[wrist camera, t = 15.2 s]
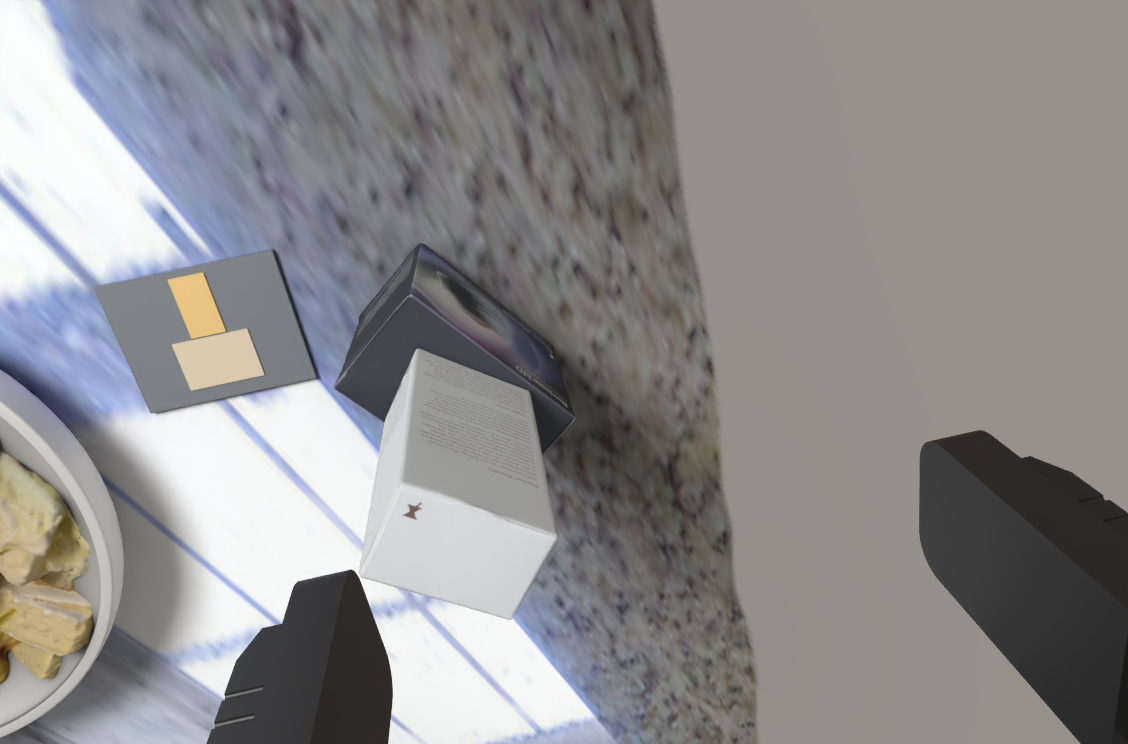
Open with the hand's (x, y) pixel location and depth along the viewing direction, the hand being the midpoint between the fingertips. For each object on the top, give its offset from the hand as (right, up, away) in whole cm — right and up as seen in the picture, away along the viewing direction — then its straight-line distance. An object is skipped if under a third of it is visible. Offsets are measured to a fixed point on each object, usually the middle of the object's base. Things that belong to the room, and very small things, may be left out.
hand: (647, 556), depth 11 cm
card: (-22, +5, +35) cm, 41 cm away
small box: (-7, +5, +37) cm, 38 cm away
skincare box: (-6, +1, +27) cm, 28 cm away
